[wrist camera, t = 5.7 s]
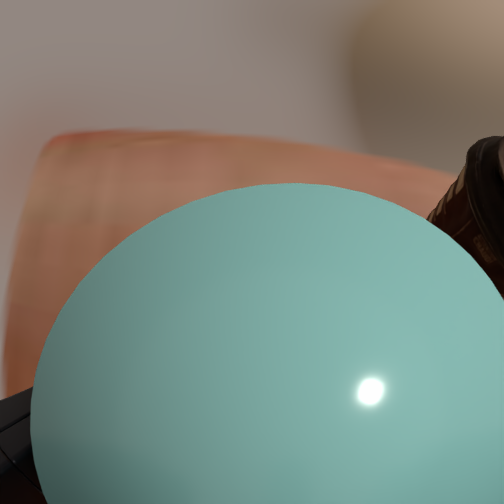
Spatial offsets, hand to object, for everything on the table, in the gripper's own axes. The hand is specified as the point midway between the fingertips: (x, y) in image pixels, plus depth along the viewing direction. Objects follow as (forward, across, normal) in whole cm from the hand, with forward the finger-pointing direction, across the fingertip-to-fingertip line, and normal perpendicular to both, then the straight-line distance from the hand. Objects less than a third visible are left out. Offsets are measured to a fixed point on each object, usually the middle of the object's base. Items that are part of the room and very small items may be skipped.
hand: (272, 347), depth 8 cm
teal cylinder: (+4, 0, -6) cm, 7 cm away
